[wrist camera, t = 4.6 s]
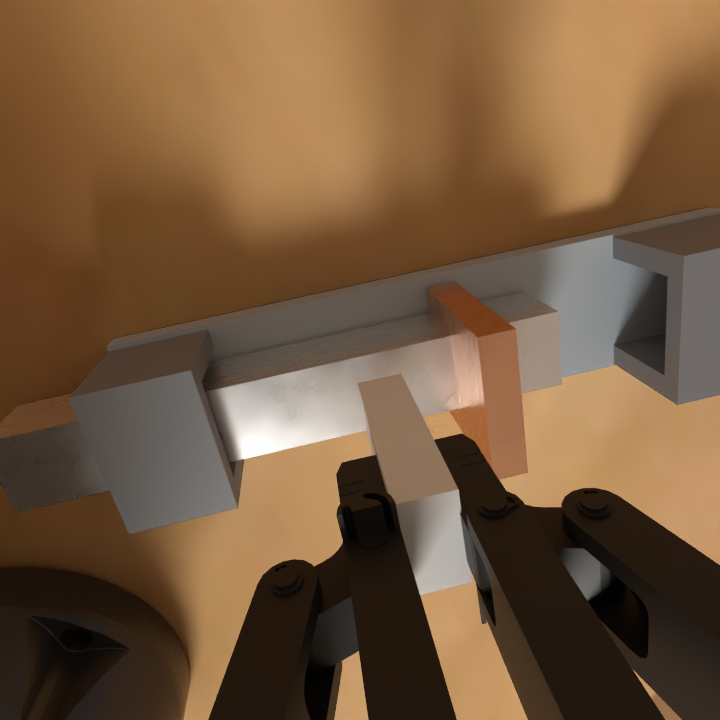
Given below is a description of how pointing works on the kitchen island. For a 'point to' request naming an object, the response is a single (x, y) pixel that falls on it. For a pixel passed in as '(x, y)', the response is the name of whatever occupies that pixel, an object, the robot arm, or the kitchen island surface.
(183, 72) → the kitchen island surface
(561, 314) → the rail
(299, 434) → the long square rod
